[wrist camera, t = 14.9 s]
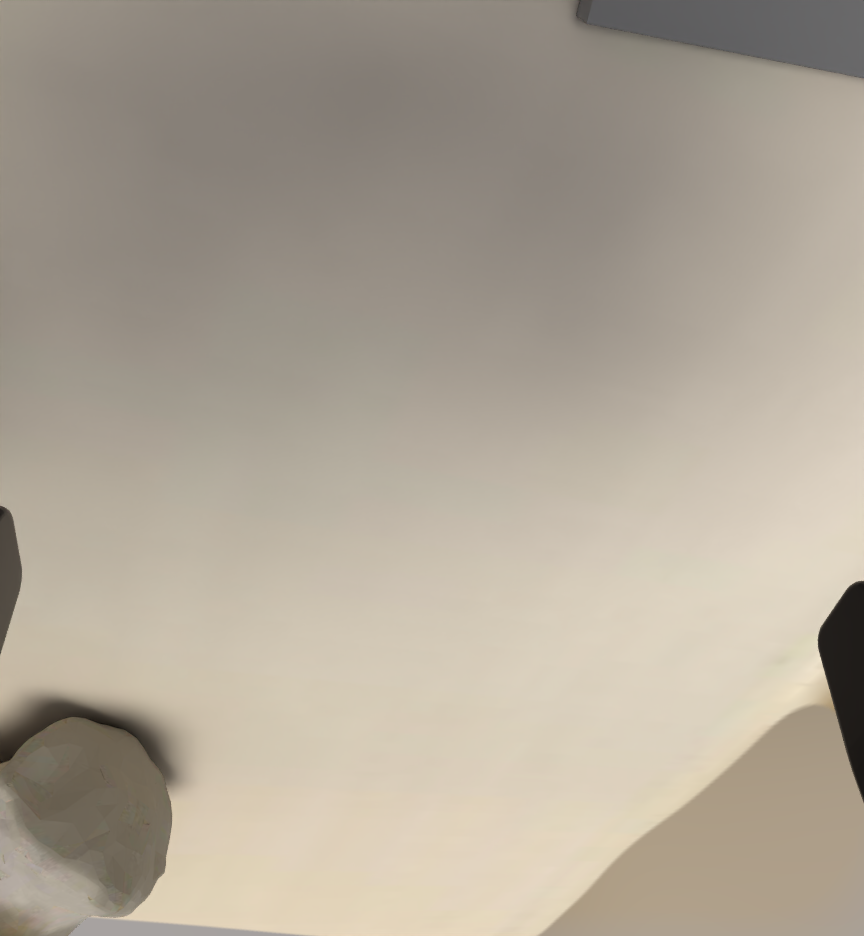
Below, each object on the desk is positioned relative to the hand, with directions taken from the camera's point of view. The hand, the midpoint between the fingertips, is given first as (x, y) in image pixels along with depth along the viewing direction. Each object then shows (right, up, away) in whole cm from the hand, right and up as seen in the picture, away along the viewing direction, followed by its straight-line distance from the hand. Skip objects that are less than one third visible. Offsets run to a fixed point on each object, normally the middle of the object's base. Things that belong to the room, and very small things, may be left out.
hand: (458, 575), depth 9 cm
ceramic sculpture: (-17, -11, +24) cm, 31 cm away
